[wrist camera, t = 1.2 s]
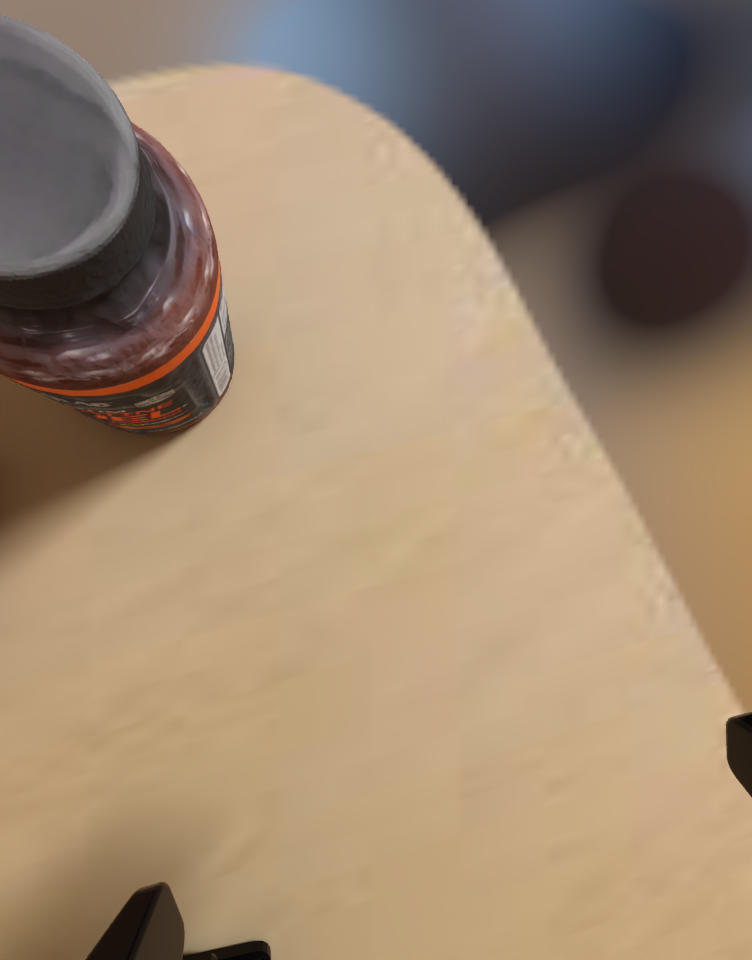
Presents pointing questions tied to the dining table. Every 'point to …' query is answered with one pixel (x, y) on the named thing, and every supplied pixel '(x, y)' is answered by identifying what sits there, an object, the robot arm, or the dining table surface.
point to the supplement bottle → (101, 251)
